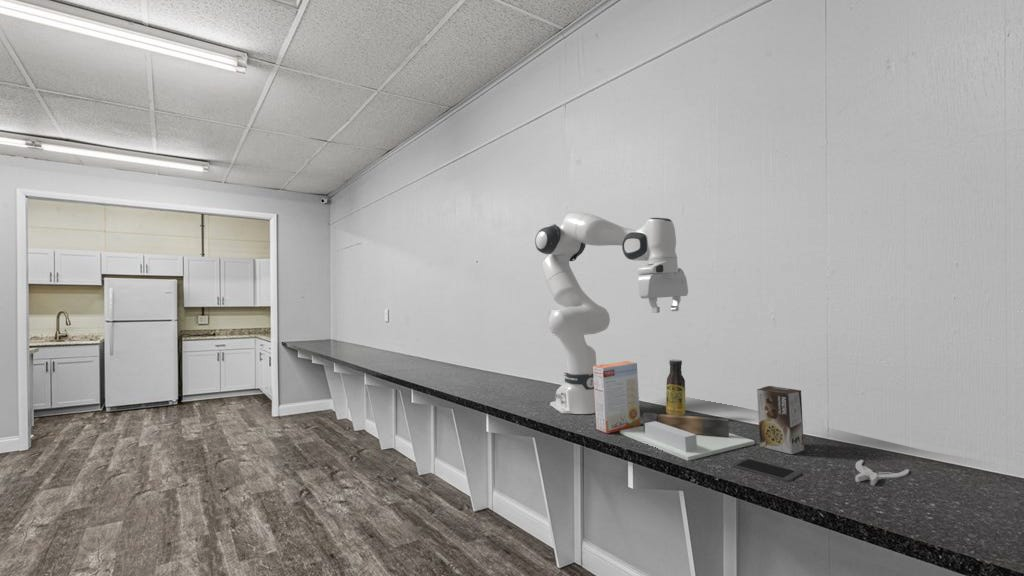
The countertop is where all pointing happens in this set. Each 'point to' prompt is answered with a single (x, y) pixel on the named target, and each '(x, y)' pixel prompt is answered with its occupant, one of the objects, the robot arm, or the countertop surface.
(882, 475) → the pliers
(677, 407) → the sauce bottle
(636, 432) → the press board
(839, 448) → the countertop surface
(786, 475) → the cell phone
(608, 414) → the cracker box
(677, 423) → the lever
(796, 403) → the coffee box
